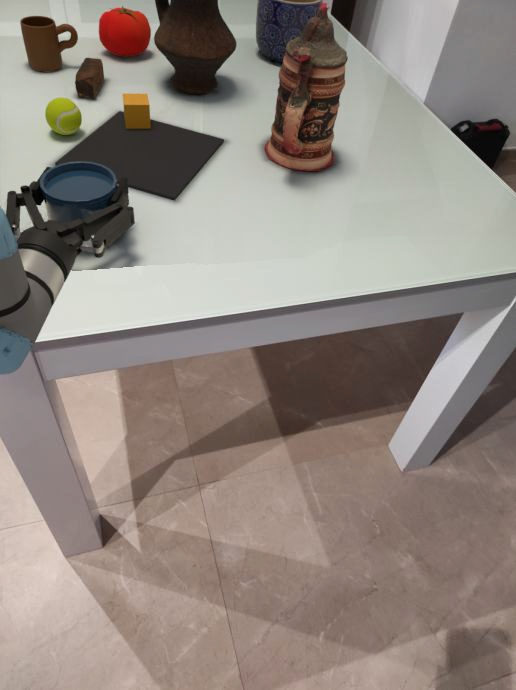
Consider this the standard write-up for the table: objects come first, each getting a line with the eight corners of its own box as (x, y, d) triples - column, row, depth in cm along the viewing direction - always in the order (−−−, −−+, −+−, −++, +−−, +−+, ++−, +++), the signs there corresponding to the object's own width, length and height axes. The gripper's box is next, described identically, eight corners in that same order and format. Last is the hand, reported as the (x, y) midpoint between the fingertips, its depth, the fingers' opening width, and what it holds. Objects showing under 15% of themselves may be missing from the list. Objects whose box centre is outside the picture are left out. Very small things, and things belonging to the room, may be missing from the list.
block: (126, 129, 105) (123, 104, 101) (124, 117, 108) (122, 93, 104) (150, 128, 106) (149, 104, 102) (148, 117, 109) (147, 93, 105)
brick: (87, 78, 119) (84, 56, 116) (105, 79, 120) (102, 58, 116) (76, 98, 112) (73, 76, 109) (95, 100, 113) (92, 78, 109)
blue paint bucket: (37, 235, 80) (24, 189, 74) (74, 199, 87) (66, 154, 81) (100, 254, 79) (92, 208, 73) (133, 216, 86) (129, 171, 80)
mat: (55, 165, 95) (54, 162, 94) (119, 113, 110) (119, 110, 110) (174, 200, 91) (174, 197, 91) (223, 141, 107) (223, 139, 106)
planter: (321, 54, 144) (332, -7, 133) (299, 73, 134) (309, 8, 122) (268, 39, 147) (274, -22, 136) (242, 57, 137) (247, -8, 126)
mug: (83, 61, 125) (76, 17, 118) (81, 74, 120) (75, 29, 113) (31, 58, 123) (21, 14, 116) (27, 72, 118) (17, 26, 111)
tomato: (99, 45, 132) (93, -1, 125) (148, 45, 136) (146, 1, 128) (103, 63, 126) (97, 15, 118) (155, 62, 129) (153, 16, 121)
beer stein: (303, 141, 115) (235, 150, 106) (328, -8, 97) (249, -12, 88) (352, 170, 105) (282, 183, 96) (391, 10, 87) (309, 7, 78)
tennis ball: (78, 122, 105) (73, 89, 100) (88, 138, 102) (83, 104, 97) (45, 127, 103) (37, 93, 98) (54, 143, 99) (47, 109, 94)
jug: (249, 86, 125) (262, -68, 103) (202, 110, 115) (205, -56, 92) (182, 60, 132) (181, -91, 109) (131, 80, 121) (118, -82, 98)
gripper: (-44, 279, 69) (20, 190, 84) (129, 302, 69) (163, 210, 84) (-65, 233, 63) (7, 147, 78) (123, 259, 64) (161, 168, 78)
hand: (88, 179), depth 81 cm, fingers closed on blue paint bucket, 11 cm apart
